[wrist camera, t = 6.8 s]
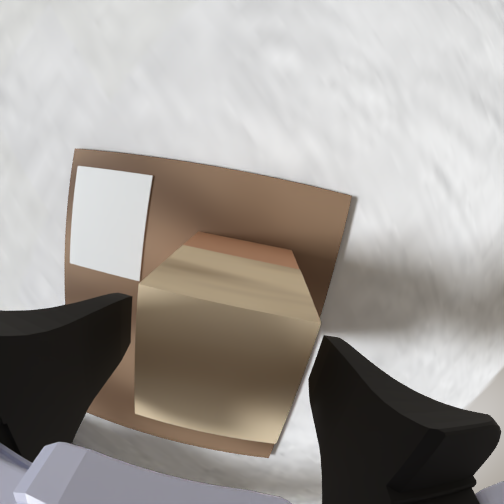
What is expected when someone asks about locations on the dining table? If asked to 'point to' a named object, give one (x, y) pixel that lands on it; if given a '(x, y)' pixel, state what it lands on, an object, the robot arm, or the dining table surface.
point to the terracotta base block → (243, 249)
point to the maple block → (222, 343)
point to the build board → (173, 237)
